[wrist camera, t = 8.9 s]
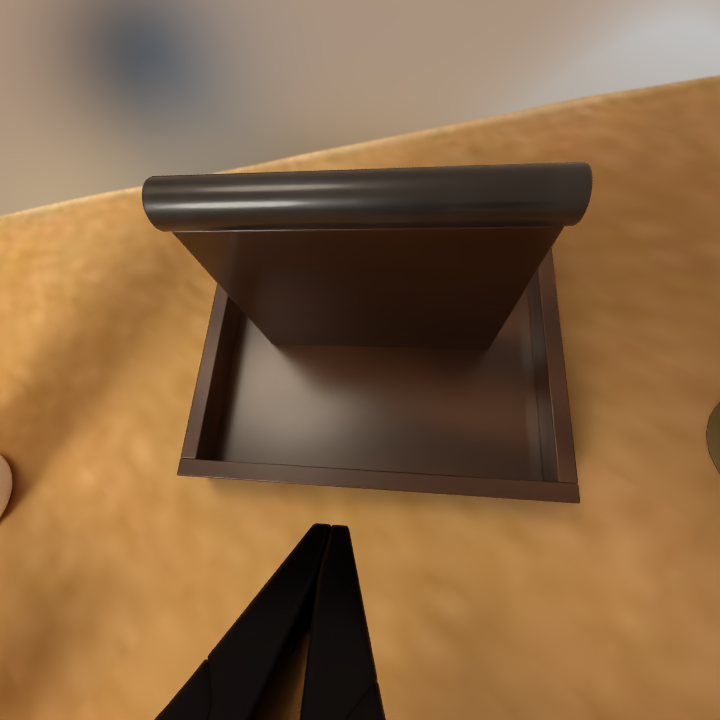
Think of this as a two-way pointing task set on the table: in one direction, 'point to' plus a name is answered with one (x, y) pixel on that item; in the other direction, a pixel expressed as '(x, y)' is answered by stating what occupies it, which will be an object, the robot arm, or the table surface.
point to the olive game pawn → (714, 436)
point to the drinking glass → (4, 484)
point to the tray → (381, 326)
